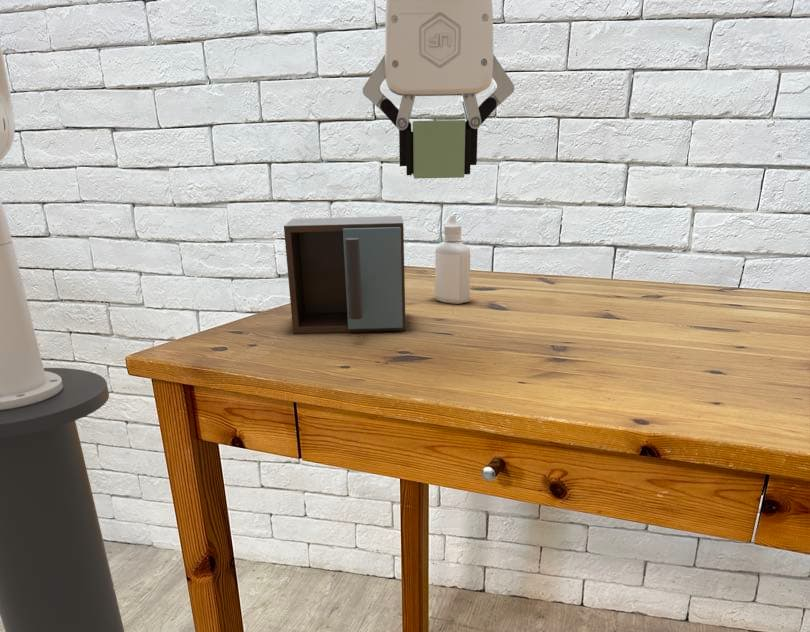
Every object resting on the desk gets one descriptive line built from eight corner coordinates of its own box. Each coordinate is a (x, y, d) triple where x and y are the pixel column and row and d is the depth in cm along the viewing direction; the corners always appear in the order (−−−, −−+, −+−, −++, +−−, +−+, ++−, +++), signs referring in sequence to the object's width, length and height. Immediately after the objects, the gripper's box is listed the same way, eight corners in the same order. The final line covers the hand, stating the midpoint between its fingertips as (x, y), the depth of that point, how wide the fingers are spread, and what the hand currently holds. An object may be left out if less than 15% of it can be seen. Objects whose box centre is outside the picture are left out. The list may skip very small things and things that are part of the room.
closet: (405, 330, 100) (403, 223, 93) (293, 333, 99) (283, 225, 93) (404, 316, 108) (402, 215, 101) (300, 318, 107) (291, 218, 101)
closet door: (403, 338, 93) (401, 232, 88) (346, 339, 93) (340, 234, 88) (402, 326, 99) (400, 226, 93) (348, 328, 99) (343, 228, 93)
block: (464, 177, 76) (465, 119, 73) (413, 178, 76) (413, 120, 73) (460, 175, 80) (461, 120, 78) (412, 175, 80) (412, 121, 78)
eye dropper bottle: (443, 305, 113) (444, 218, 108) (433, 298, 118) (433, 214, 113) (471, 303, 114) (473, 216, 109) (460, 296, 119) (461, 213, 113)
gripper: (342, -56, 66) (352, 177, 75) (539, -59, 66) (527, 174, 75) (347, -39, 73) (355, 174, 81) (526, -42, 73) (516, 171, 81)
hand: (437, 172), depth 78 cm, fingers closed on block, 5 cm apart
